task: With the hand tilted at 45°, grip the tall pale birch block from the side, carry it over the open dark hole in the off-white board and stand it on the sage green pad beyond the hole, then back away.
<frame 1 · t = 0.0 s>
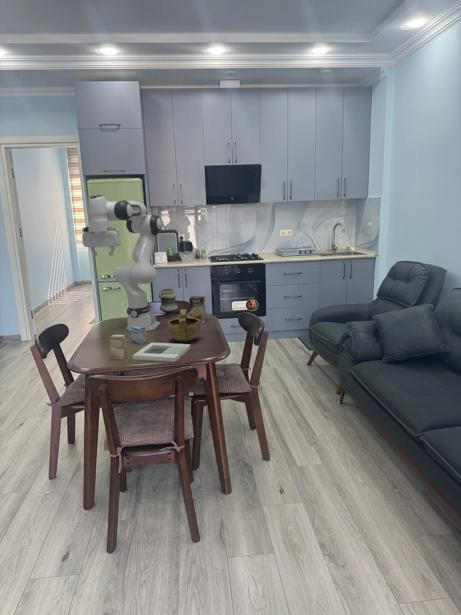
hand: (103, 255, 213), 48 cm above the table, tool pointing down, fingers open, 8 cm apart
hole board: (162, 353, 207), on the table
medicine box: (139, 342, 227), on the table
birch block: (119, 357, 204), on the table
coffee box: (198, 322, 263), on the table
ceramic bowl: (185, 340, 227), on the table
apothecary jar: (169, 316, 283), on the table
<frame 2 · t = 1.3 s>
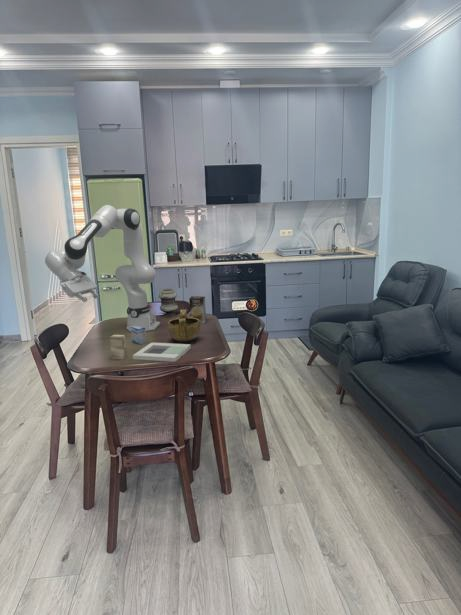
hand: (91, 299, 201), 29 cm above the table, tool tilted 45°, fingers open, 8 cm apart
nothing on the table moved.
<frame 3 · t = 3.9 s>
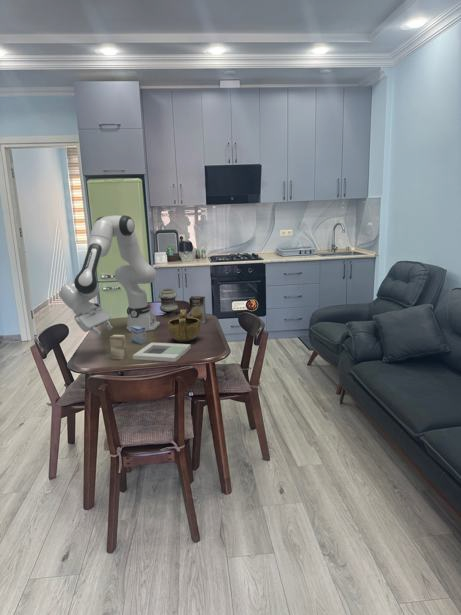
hand: (105, 331, 202), 13 cm above the table, tool tilted 45°, fingers open, 8 cm apart
nothing on the table moved.
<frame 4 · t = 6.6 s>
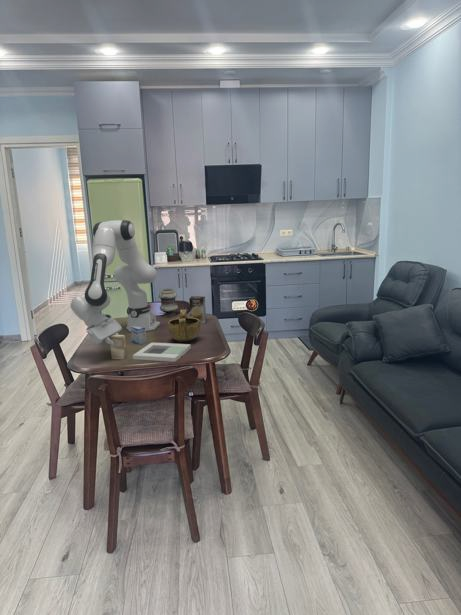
hand: (117, 343, 202), 7 cm above the table, tool tilted 45°, fingers closed on birch block, 4 cm apart
birch block: (119, 357, 204), on the table, touching gripper
everything else where it was.
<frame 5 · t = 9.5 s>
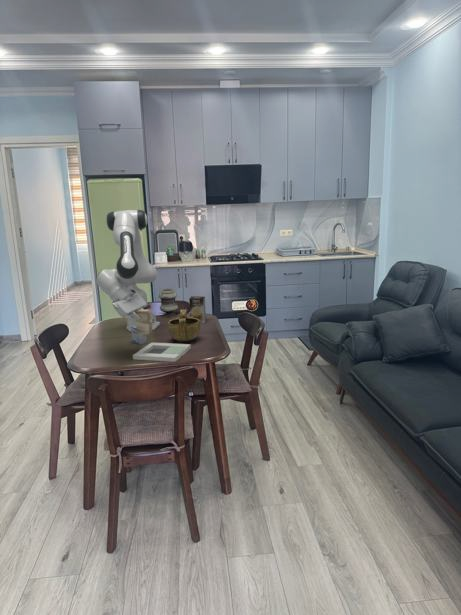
hand: (142, 317, 200), 19 cm above the table, tool tilted 45°, fingers closed on birch block, 4 cm apart
birch block: (144, 332, 202), point 12 cm above the table, touching gripper
everything else where it was.
when the fingers open (11 cm above the table, at t = 12.7 s): birch block drops 1 cm, resting on hole board.
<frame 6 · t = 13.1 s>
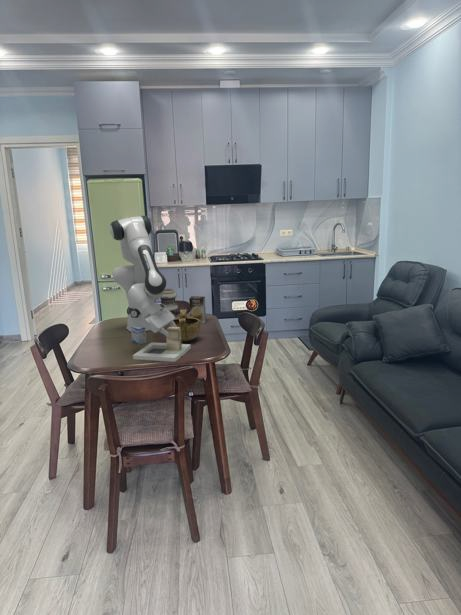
hand: (172, 332, 203), 11 cm above the table, tool tilted 45°, fingers open, 8 cm apart
birch block: (174, 349, 205), point 2 cm above the table, touching hole board
everything else where it was.
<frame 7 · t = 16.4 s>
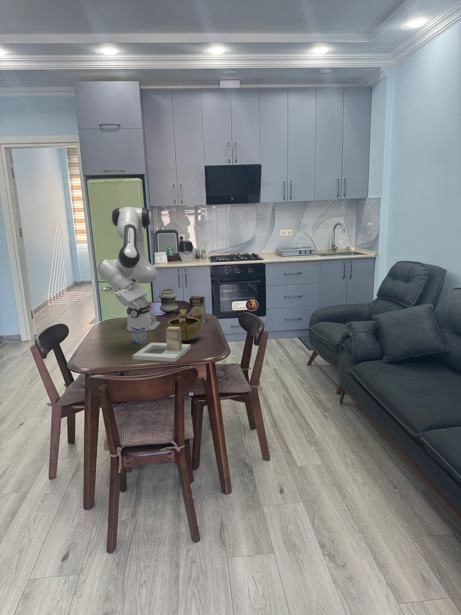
hand: (143, 306, 206), 23 cm above the table, tool tilted 45°, fingers open, 8 cm apart
nothing on the table moved.
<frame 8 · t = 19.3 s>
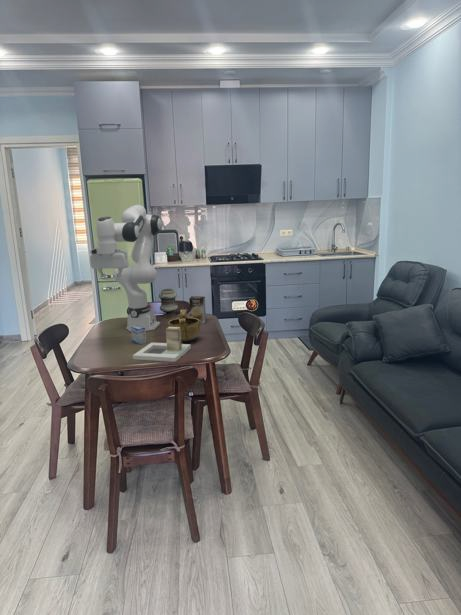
hand: (111, 277, 213), 37 cm above the table, tool pointing down, fingers open, 8 cm apart
nothing on the table moved.
at the end: birch block inside the target area on the hole board (0.1 cm from its centre), point 2.3 cm above the hole board's base; birch block tilted 0°; the gripper is holding nothing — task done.
